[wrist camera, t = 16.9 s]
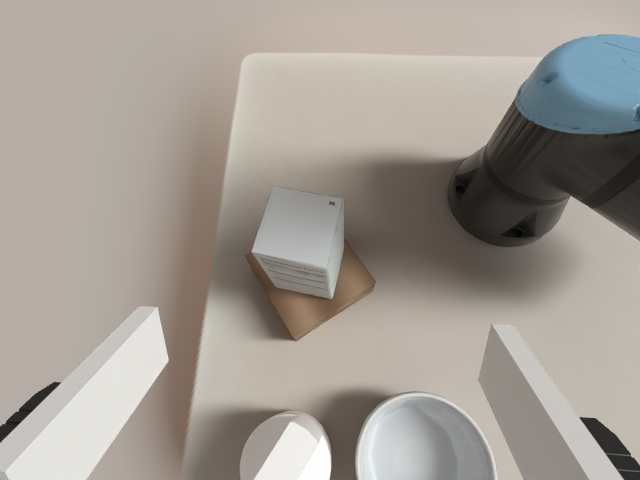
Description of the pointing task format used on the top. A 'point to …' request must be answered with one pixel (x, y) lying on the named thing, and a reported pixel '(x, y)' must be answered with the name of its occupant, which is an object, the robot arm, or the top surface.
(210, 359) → the top surface
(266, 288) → the walnut block
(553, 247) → the top surface
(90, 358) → the robot arm
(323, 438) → the cylinder with rectangular tab
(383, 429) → the ramekin
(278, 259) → the supplement box
